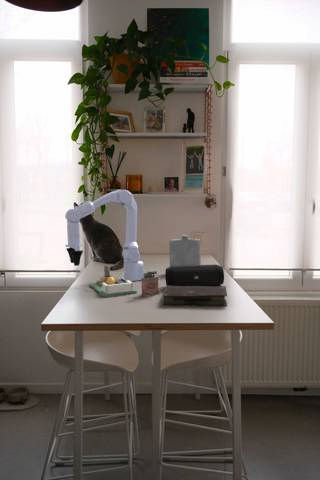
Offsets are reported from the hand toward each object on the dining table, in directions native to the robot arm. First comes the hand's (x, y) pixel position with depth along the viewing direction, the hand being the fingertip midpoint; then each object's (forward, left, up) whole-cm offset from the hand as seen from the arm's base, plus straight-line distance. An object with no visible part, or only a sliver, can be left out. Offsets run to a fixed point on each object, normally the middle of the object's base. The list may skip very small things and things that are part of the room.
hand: (75, 264), depth 217 cm
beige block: (-13, +6, -9) cm, 17 cm away
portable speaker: (-48, +27, -10) cm, 56 cm away
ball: (-13, +12, -7) cm, 20 cm away
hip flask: (-57, -2, -10) cm, 58 cm away
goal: (-13, +23, -10) cm, 28 cm away
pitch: (-13, +15, -10) cm, 22 cm away
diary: (-38, +48, -11) cm, 62 cm away
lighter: (-25, +31, -10) cm, 41 cm away
